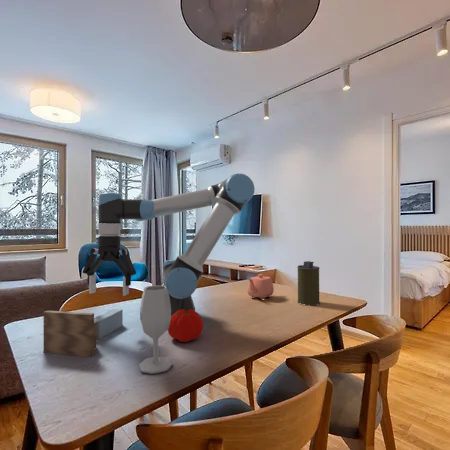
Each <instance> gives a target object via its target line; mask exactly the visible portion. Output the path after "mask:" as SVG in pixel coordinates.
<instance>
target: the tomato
mask: <svg viewBox="0 0 450 450" xmlns="http://www.w3.org/2000/svg"><path fill="white" fill-rule="evenodd" d="M203 331H204V322H203V318H202V317H201V316H200V314H199V313H198V312H196V310H195V311H194V310H193V309H189V310H188V311H187V310H184V309H181V310H178V311H176V312H175V313H174V314H173V315H172V316H171V320H170V325H169V329H168V330H167V332H168V335H169V336H170V338H172V339H174V340H178V341H179V342H182V343H189V342H190V341H194V340H197V339H198V338H199V337H200V336H201V335H202V333H203Z"/></svg>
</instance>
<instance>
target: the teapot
mask: <svg viewBox="0 0 450 450" xmlns="http://www.w3.org/2000/svg"><path fill="white" fill-rule="evenodd" d="M274 289H275V288H274V283H273V281H272V278H271V277H270V276H265V275H264V274H261V273H258V274H257V276H252V277H250V278H248V285H247V290H246V291H247V294H248V296H250V298H251V297H255V298H259V299H265V298H267V297H271V296H272V295H273V294H274V292H275V291H274ZM265 300H266V299H265Z"/></svg>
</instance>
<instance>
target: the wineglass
mask: <svg viewBox="0 0 450 450" xmlns="http://www.w3.org/2000/svg"><path fill="white" fill-rule="evenodd" d="M143 288H144V289H143V290H142V291H143V292H142V295H141V301H140V308H139V309H140V310H139V319H140V324H141V327H142V330H143V333H144V334H145V335H146V336H148V337H150V338H151V339H152V342H153V343H152V345H153V346H152V347H153V349H152V351H153V352H152V353H153V355H152V357H148V358H147V357H146V358H145V359H144V360H142V361H141V362H140V363H139V364H138V365H139V370H140V372H141V373H143V374H150V375H151V374H152V375H154V374H160V373H164V372H167V371H168V370H169V369H170V368H171V367H172V366H173V362H172V359H171V358H170V357H167V356H159V353H160V352H159V351H160V349H159V339H160V338H161V336H163V335H164V334H165V333H166V332H168V329H169V325H170V320H171V304H170V298H169V293H168V290H167V287H166V286H164V285H157V284H156V285H149V286H146V287H143Z"/></svg>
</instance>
